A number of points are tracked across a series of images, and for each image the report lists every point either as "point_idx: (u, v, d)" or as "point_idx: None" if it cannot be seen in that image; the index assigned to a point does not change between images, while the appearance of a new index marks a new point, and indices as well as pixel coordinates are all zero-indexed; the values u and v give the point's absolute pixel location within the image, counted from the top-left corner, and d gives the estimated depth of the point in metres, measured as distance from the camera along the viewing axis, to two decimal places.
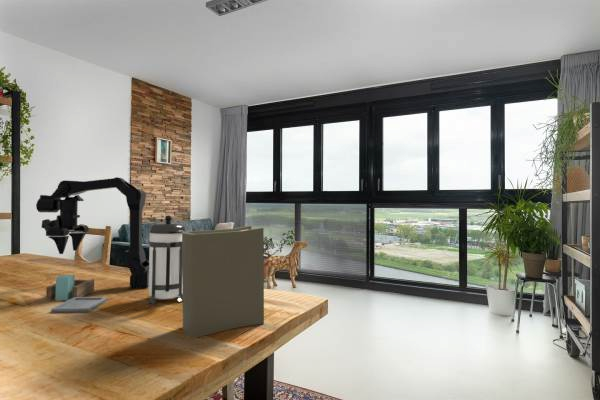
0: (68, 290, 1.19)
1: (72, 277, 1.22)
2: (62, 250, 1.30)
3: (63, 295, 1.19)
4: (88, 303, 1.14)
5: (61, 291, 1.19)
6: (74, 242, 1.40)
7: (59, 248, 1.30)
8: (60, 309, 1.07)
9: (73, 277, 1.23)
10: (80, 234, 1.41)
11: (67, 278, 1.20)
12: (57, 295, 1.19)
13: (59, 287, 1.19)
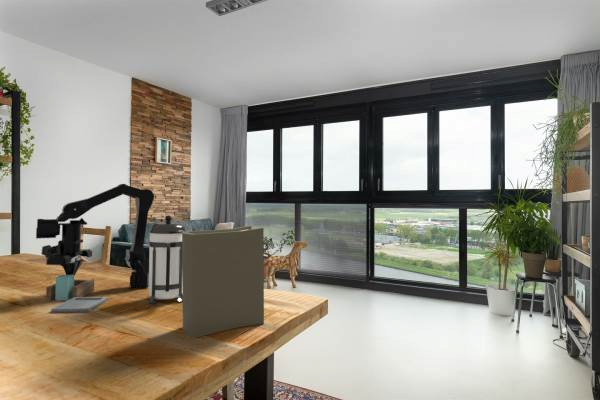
0: (67, 290, 1.19)
1: (72, 277, 1.22)
2: None
3: (63, 295, 1.19)
4: (88, 303, 1.14)
5: (61, 291, 1.19)
6: None
7: (68, 274, 1.23)
8: (60, 309, 1.07)
9: (73, 277, 1.23)
10: (77, 262, 1.25)
11: (67, 278, 1.19)
12: (57, 295, 1.19)
13: (59, 287, 1.19)
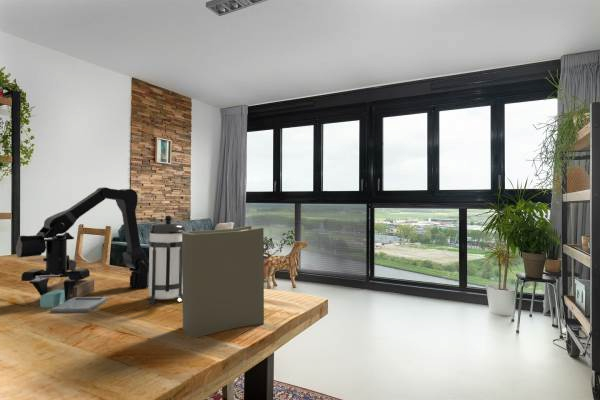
0: None
1: (54, 299, 1.12)
2: None
3: None
4: (88, 303, 1.14)
5: None
6: None
7: None
8: (60, 309, 1.07)
9: (55, 297, 1.12)
10: None
11: None
12: None
13: None
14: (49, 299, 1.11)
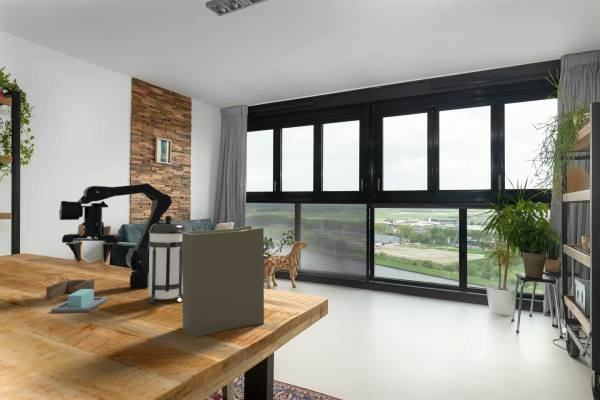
0: (88, 303, 1.14)
1: (82, 299, 1.10)
2: None
3: None
4: None
5: None
6: None
7: None
8: (60, 309, 1.07)
9: (82, 297, 1.10)
10: None
11: (80, 307, 1.10)
12: None
13: None
14: (77, 299, 1.09)
